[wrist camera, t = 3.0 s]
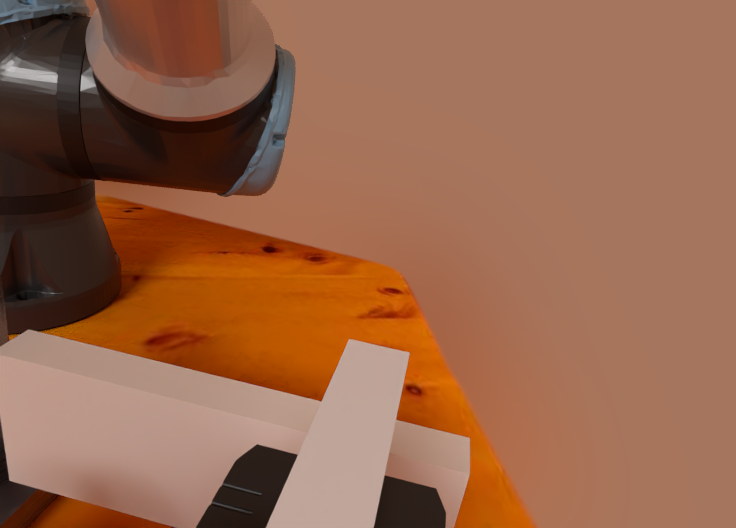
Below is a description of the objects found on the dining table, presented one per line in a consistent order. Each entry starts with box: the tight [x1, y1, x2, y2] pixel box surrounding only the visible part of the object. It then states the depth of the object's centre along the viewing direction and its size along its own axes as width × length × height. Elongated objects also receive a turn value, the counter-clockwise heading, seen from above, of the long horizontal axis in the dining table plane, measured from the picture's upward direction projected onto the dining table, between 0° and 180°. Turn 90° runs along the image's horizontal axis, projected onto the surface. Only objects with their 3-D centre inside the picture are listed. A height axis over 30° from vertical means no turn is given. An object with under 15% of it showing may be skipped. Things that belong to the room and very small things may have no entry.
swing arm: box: [0, 329, 470, 528], centre depth 23 cm, size 20×2×7 cm, turn 78°
